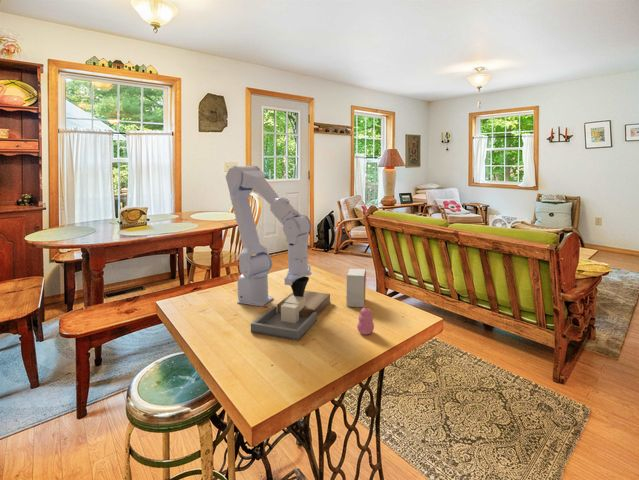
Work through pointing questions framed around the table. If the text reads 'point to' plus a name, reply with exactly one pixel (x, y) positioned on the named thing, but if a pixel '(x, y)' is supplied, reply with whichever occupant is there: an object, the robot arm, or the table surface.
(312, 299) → the walnut plate
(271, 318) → the box
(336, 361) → the table surface
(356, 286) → the small box
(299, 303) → the rear tile
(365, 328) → the dog chew toy
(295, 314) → the front tile
